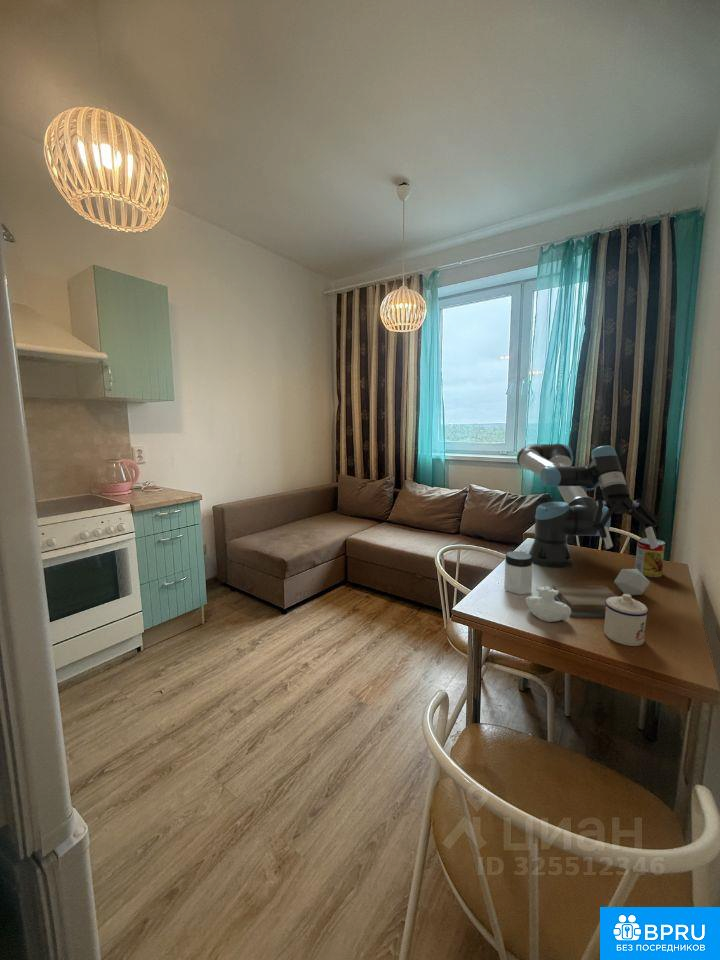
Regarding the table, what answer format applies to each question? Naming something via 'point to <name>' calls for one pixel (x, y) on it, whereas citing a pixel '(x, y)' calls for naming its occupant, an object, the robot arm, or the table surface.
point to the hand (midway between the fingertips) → (632, 547)
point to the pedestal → (584, 599)
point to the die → (631, 581)
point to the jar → (518, 572)
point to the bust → (548, 605)
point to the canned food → (649, 558)
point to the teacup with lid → (625, 620)
